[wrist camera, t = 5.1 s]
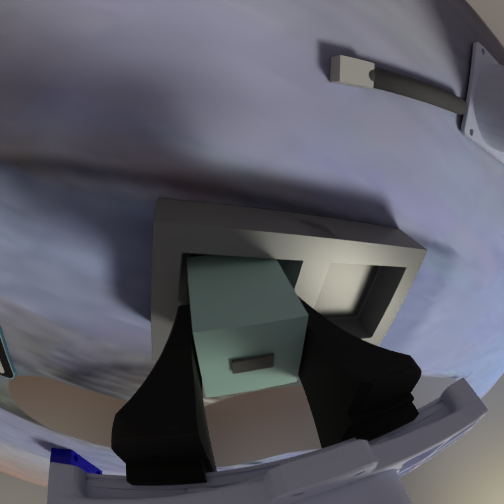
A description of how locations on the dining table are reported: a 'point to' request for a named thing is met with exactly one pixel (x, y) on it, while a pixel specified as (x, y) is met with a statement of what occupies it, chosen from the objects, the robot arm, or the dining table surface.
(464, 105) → the cable piece
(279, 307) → the block
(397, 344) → the dining table surface
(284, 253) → the grey piece
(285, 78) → the dining table surface
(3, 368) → the smartphone
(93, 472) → the cable holder
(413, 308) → the dining table surface
